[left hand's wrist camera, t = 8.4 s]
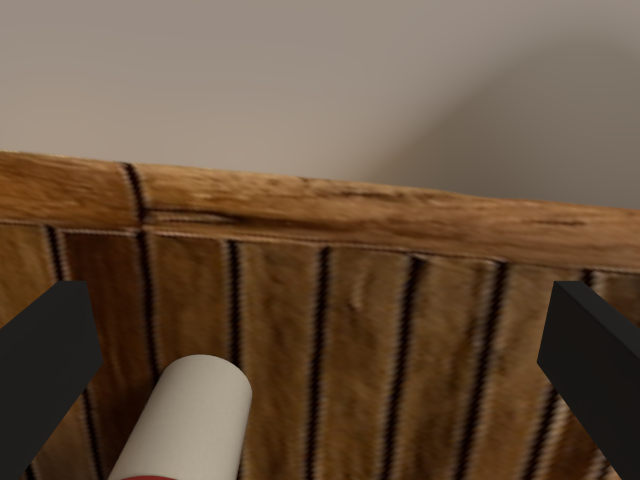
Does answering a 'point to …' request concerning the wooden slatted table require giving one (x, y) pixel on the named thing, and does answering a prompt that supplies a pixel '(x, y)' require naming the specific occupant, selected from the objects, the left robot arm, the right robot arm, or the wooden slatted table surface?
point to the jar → (190, 423)
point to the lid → (148, 478)
